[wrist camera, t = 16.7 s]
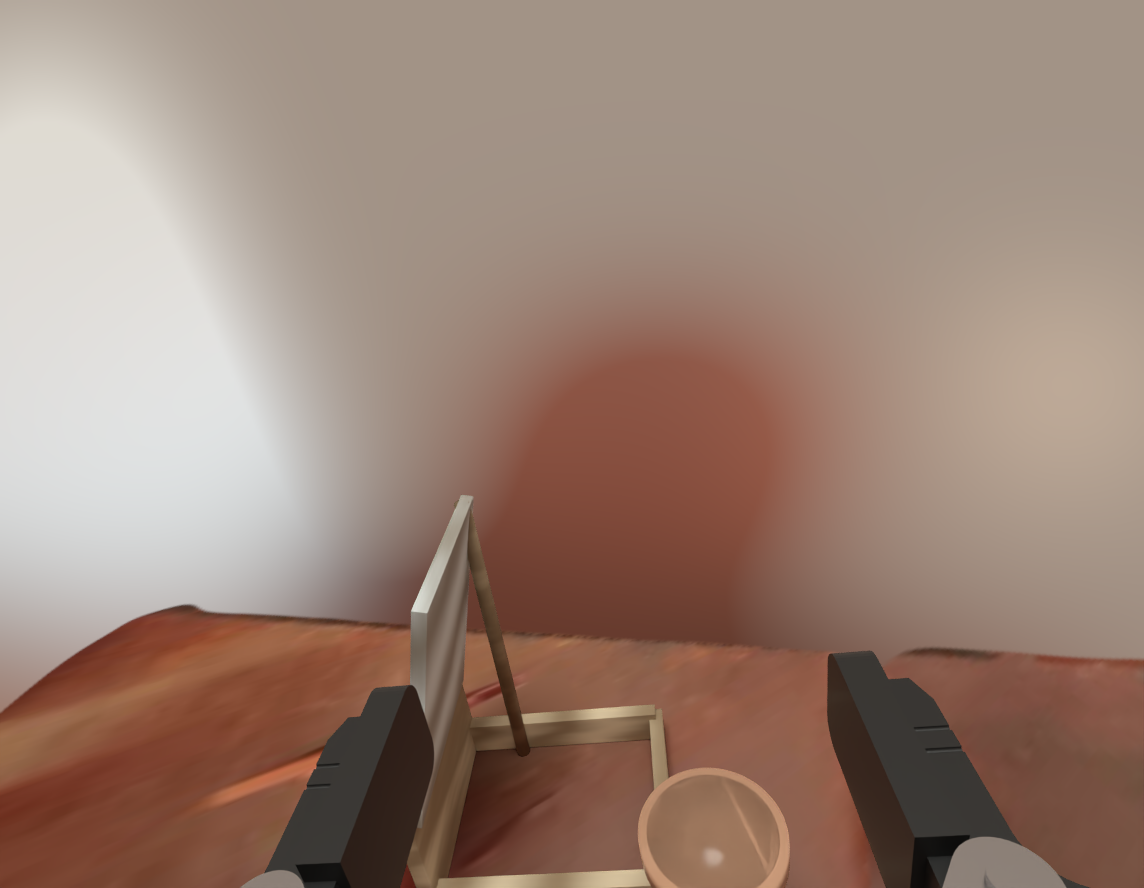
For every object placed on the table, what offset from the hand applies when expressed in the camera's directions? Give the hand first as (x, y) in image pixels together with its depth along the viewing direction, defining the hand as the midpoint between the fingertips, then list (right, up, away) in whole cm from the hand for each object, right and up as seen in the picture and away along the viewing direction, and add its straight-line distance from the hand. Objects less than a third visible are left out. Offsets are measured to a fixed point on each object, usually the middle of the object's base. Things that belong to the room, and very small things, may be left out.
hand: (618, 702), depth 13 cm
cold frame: (-2, -21, +34) cm, 40 cm away
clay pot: (+7, -24, +22) cm, 33 cm away
